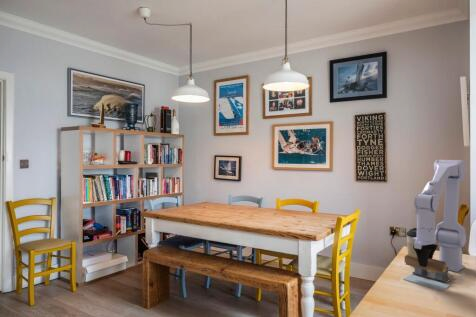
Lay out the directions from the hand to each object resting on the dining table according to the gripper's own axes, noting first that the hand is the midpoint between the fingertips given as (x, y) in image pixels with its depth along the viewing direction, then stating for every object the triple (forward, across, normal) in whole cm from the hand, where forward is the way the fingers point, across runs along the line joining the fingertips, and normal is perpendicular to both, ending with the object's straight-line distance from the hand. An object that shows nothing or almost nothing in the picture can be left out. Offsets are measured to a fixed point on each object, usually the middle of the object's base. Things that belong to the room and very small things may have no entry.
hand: (425, 265), depth 118 cm
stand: (+6, -8, 0) cm, 10 cm away
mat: (+6, 0, 0) cm, 6 cm away
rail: (+1, 0, 0) cm, 1 cm away
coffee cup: (+6, -16, -8) cm, 20 cm away
